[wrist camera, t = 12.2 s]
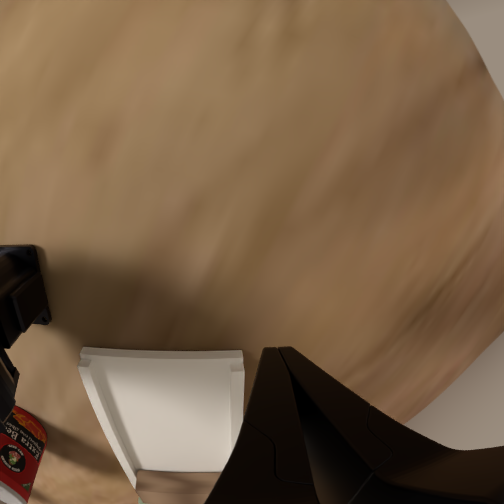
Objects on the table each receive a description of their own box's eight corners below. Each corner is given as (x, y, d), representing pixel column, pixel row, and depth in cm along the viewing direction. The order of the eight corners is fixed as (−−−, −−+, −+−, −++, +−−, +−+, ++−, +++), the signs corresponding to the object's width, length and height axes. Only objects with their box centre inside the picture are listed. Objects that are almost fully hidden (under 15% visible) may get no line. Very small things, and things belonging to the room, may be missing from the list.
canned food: (58, 434, 24) (35, 508, 14) (35, 447, 25) (14, 509, 15) (7, 392, 22) (-30, 463, 12) (-10, 411, 23) (-40, 470, 12)
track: (140, 484, 29) (138, 508, 25) (83, 346, 21) (67, 377, 17) (238, 486, 31) (242, 510, 27) (241, 350, 23) (248, 384, 19)
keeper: (144, 484, 27) (143, 503, 24) (137, 469, 26) (135, 490, 23) (229, 486, 28) (231, 505, 26) (228, 472, 27) (231, 493, 24)
